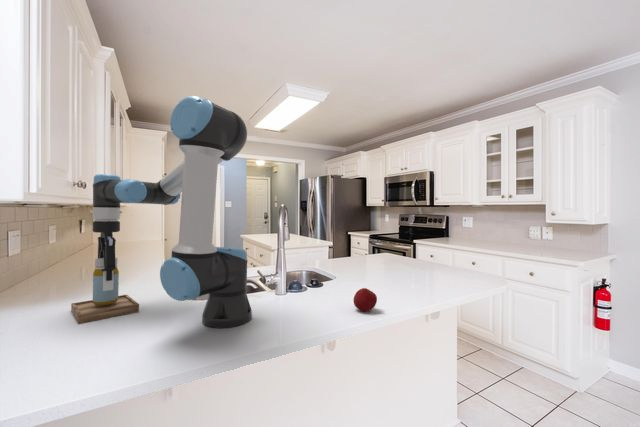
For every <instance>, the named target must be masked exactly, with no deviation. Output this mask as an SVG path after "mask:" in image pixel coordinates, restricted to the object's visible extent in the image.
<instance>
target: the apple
mask: <svg viewBox="0 0 640 427" xmlns="http://www.w3.org/2000/svg"><path fill="white" fill-rule="evenodd" d="M377 301H378V297H377V295H376V294H375V292H374V291H372V290H370V289H368V288H366V287H363V288H360V289H358V290H357V291H356V292H355V294H354V297H353V305H354V307H355V308H356V309H357V310H359V311H361V312H363V313H364V312H365V313H366V312H367V313H368V312H370V311H372V310H373V309H374V308H375V307H376V305H377Z"/></svg>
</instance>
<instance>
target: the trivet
mask: <svg viewBox="0 0 640 427" xmlns="http://www.w3.org/2000/svg"><path fill="white" fill-rule="evenodd" d="M139 312H140V304H139V303H138V302H137V301H136V300H134V299H133V298H132V297H130V295H128V294H122V295H118V300H117V302H115V303H113V304H109V305H101V306H99V305H95V304H93V299H91V300H84V301H79V302H72V303H71V313H72V316H73V317H74V319H75V320H76V322H77V324H78V325H80V324H85V323H91V322H95V321H100V320H104V319H105V320H106V319H110V318H115V317H121V316H124V315H130V314H134V313H139Z"/></svg>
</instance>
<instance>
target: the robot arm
mask: <svg viewBox="0 0 640 427" xmlns="http://www.w3.org/2000/svg"><path fill="white" fill-rule="evenodd" d="M169 128H170V130H171V131H172V134H173V135H174V136H175V137H176V138H177V139H179V142H178V148H179V149H180V150H181V152H182V153H183V154H184V157H183V158H184V160H183V161H181V163H180V164H178V165H177V166H176V167H175V168H173V169H172V170H171V171H169V173H168V174H167V173H166V175H165V176H164V177H163V178H161V179H160V180H159V181H157V182H150V181H141V180H138V179H131V178H126V179H121V177H120V176H119V175H115V174H105V173H102V174H101V173H98V174H95V175H94V176H93V183H92V220H93V221H92V232H93V233H100V234H99V235H100V236H98V237H97V244H98V245H97V259H98V258H104V269H102V271H103V291H108V290H113V282H114V269H115V268H116V266H115V257H116V242H117V240H116V238H115V237H113V235H114V234H113V233H119V232H120V231H121V222H120V221H119V220H120V219H121V214H122V213H123V212H122V210H121V204H143V205H145V204H148V205H149V204H151V205H163V206H167V205H175V204H177V203H178V202H179V199H180V198H181V205H180V215H179V216H180V217H179V219H180V220H179V233H178V243H177V244H176V245H174V246H173V247H172V248H171V257H169V258H168V259H166V260H164V262H163V263H162V264H161V267H160V269H159V280H160V283H161V286H162V288H163V290H164V291H165V292H166V294H167V295H168V296H169V297H170V298H171V299H173V300H175V301H178V302H183V301H189V300H196V299H197V298H200V297H202V296H205V295H208V297H207V300H206V303H205V306H204V309H203V311H202V315H201V318H202V319H201V322H202V325H204V326H206V327H209V328H218V329H219V328H220V329H221V328H223V329H224V328H226V329H227V328H235V327H237V326H242V325H244V324H246V323H248V322H250V321H251V319H252V317H253V316H252V313H253V310H252V308H251V304H250V300H249V298H248V295H247V292H248V291H247V288H248V286H247V285H248V283H247V282H248V253H247V251H246V250H245V248H238V247H224V246H223V247H222V246H215V245H214V244H213V237H214V236H213V234H214V222H215V210H216V209H215V207H216V196H217V194H216V193H217V180H218V167H219V165H220V164H221V163H222V162H223V161H225V162H228V161H229V162H230V161H231V160H232V159H233V158H234V157H235V156H237V155H238V154H239V153H240V152H241V151H242V150H243V148H244V146H245V144H246V142H247V139H248V130H247V129H248V128H247V126H246V124H245V120H243V119H242V117H241V116H240V115H238V114H237V113H236V112H234V111H232V110H229V109H226V108H225V107H222V106H220V105H218V104H216V103H214V102H211V101H210V100H209V99H206V98H202V97H200V96H197V95H189V96H185V97H184V98H182V99H180V101H179V102H178V103H177V104H176V105H175V106H174V108H173V109H172V112H171V116H170V120H169Z"/></svg>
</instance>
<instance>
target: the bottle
mask: <svg viewBox="0 0 640 427" xmlns="http://www.w3.org/2000/svg"><path fill="white" fill-rule="evenodd" d="M115 266H116V268H115V269H114V282H113V290H108V291H103V271H102V269H104V258H98V257H97V258H95V259H94V271H93V273H92V300H93V304H95V305H99V306H101V305H109V304H113V303H115V302H117V300H118V296H119V284H120V283H119V280H120V279H119V278H120V276H119V273H120V272H119V269H118V257H116V256H115Z"/></svg>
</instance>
